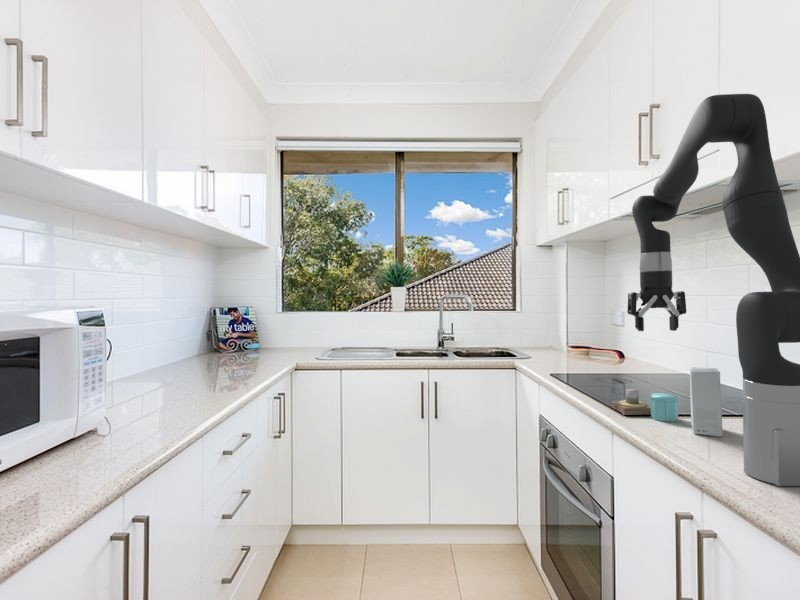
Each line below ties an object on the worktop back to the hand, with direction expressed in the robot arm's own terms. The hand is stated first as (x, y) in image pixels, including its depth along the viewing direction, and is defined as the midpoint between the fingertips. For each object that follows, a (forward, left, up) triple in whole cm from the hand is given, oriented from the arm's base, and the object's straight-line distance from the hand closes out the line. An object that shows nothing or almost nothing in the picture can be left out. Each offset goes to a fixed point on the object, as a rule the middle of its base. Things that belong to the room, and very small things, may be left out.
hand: (656, 330), depth 124 cm
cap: (-3, 0, -23) cm, 23 cm away
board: (+4, +5, -23) cm, 24 cm away
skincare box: (-14, -4, -23) cm, 27 cm away
